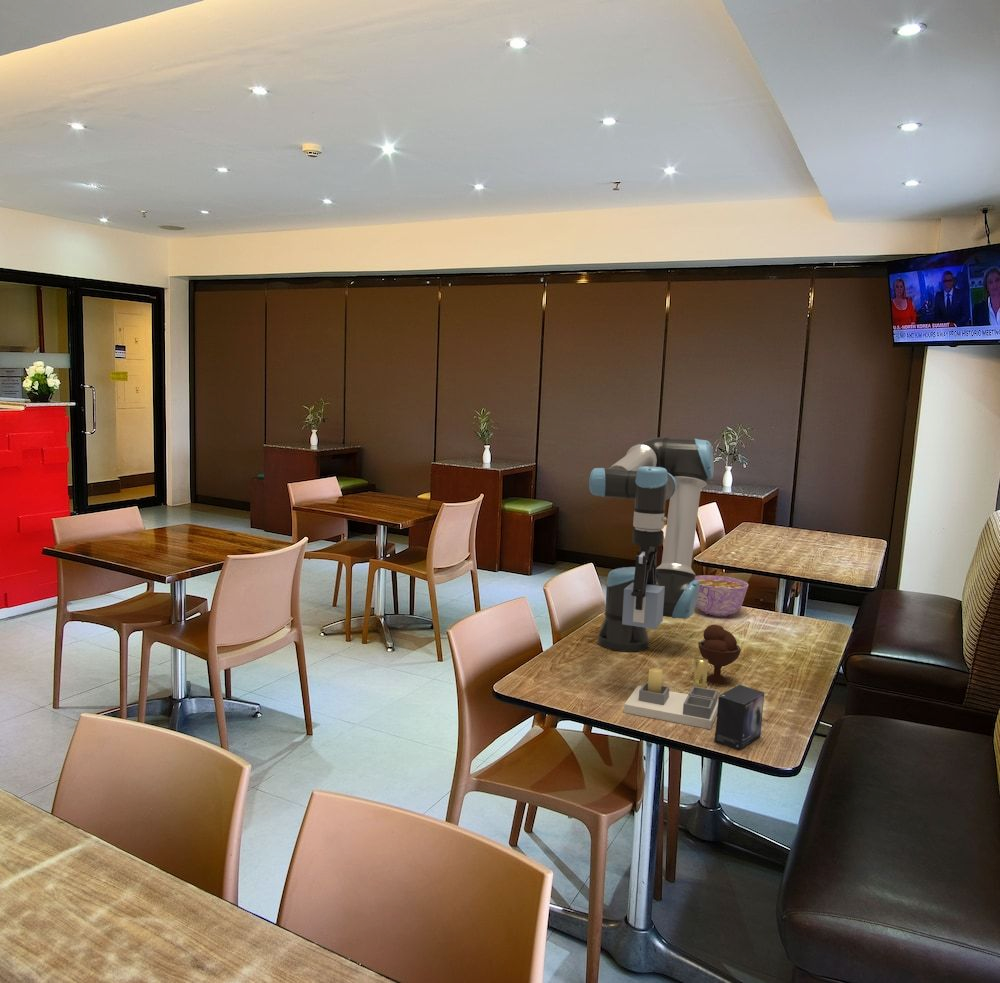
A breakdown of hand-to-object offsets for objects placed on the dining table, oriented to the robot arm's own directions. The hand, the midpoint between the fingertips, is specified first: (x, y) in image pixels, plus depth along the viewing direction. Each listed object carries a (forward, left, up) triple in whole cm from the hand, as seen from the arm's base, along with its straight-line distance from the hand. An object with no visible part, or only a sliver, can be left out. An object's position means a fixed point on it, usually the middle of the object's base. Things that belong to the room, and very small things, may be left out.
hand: (642, 617), depth 199 cm
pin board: (+11, -10, -19) cm, 24 cm away
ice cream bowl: (+17, +17, -19) cm, 31 cm away
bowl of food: (+7, +87, -19) cm, 90 cm away
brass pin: (+15, +1, -19) cm, 24 cm away
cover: (0, 0, -1) cm, 1 cm away
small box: (+27, -19, -19) cm, 38 cm away
